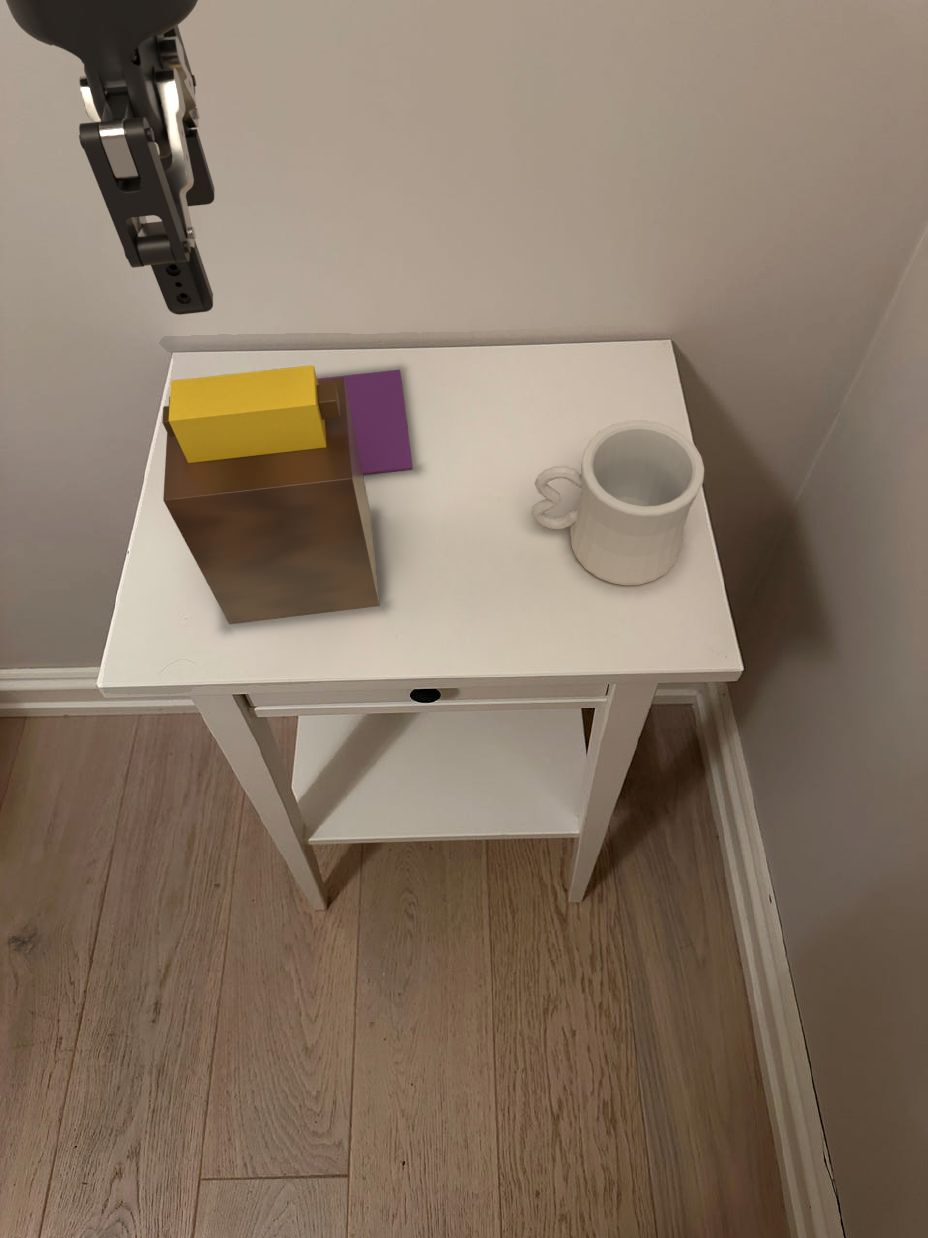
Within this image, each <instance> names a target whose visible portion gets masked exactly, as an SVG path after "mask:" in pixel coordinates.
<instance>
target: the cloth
mask: <svg viewBox="0 0 928 1238" xmlns="http://www.w3.org/2000/svg"><path fill="white" fill-rule="evenodd" d="M341 377H344V379H345V385H346V390H347V395H348V400H349V405H350V410H351V415H352V420H353V426H354V431H355V436H356V441H357V446H358V451H359V456H360V461H361V466H362V472H363V476H367V475H377V474H384V473H386V474H387V473H392V472H401V471H411V470H413V469H414V468H413V462H412V461H413V460H412V454H411V452H412V451H411V445H410V438H409V430H408V422H407V421H408V420H407V415H406V413H407V412H406V406H405V397H404V391H403V382H402V375H401V369H400V368H399V369H389V370H381V371H373V372H365V373H355V374H348V375H347V374H346V375H338V376H328V377H327V376H326V377H320V378H319V377H317V380H323V379H332V378H341Z"/></svg>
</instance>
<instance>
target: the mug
mask: <svg viewBox="0 0 928 1238" xmlns="http://www.w3.org/2000/svg"><path fill="white" fill-rule="evenodd" d="M704 465H705V464H704V461H703V457H702V455H701V453H700V452H699V450H698V448H697V447H696V445H695V444H694V443H693V441H691V440H690V439H689V437H687V436H686V435H685V434H684V433H682V432H680V431H678V430H676V429H675V428H674V427H672V426H669V425H666V424H664V423H661V422H657V421H652V420H645V419H635V420H633V419H632V420H624V421H621V422H618V423H613V424H611V425H609V426H607V427H606V428H603V429H601V430H600V431H598V432H597V433H596V434H595V435H594V436H593V437H592V438H591V439H590V440H589V441H588V443H587V444H586V447H585V449H584V450H583V453H582V459H581V463H580V472H578V471H577V470H576V469H574V468H572V467H570V466H567V465H554V466H552V467H549V468H546V469H544V470H543V471H542V472H540V473H539V474H538V475H537V476H536V478H535V481H534V485H535V488H536V491H537V493H539V494H540V495H541V496H542V497H543V498H545V499H543V500H541V501H538V502H537V503H535V504H534V505H533V506H532V509H531V516H532V518H533V519H534V520H535V522H536V523H538V524H540V526H543V527H544V528H548V529H551V530H564V529H566V528H569V527H570V529H569V530H570V531H569V536H570V544H571V549H572V551H573V553H574V556H575V557H576V560H577V561H578V562H579V563H580V565H581V566H582V567H583V568H584V569H585V570H586V571H588V572H589V573H590V574H592V575H593V576H595V578H598V579H600V580H603V581H604V582H605V581H606V582H608V583H610V584H614V585H615V584H616V585H621V586H639V585H643V584H648V583H650V582H653V581H656V580H657V579H659V578H661V577H662V576H664V575H666V574H667V573H668V571H669V570H670V569H671V568H672V567H673V566H674V565H675V564H676V562H677V560H678V558H679V556H680V553H681V552H682V546H683V540H684V533H685V532H684V531H685V526H686V522H687V519H688V516H689V512H690V509H691V507H692V505H693V504H694V502H695V500H696V499H697V497H698V494H699V492H700V490H701V488H702V486H703V484H704V479H705V478H704V477H705V466H704ZM557 479H559V480H560V479H564V480H567V481H568V482H570V483H571V484H572V485H575V486H577V487H579V488H581V490H580V495H579V501H578V502H577V503H578V504H577V506H576V509H575V510H572V511H569V513H567V514H566V515H565V516H562V517H557V518H556V517H552V516H550V515H548V514H546V512H549V511H551V510H553V509H555V508H556V507H557V506H558V505H559V504H560V503H561V501H562V497H561V494H560V492H559V491H558V490H556V489H555V488H553V487H552V486H551V485H549V484H548V483H549V482H552V481H554V480H557Z"/></svg>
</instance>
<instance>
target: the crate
mask: <svg viewBox="0 0 928 1238" xmlns="http://www.w3.org/2000/svg"><path fill="white" fill-rule="evenodd" d="M317 381H318V385H319V384H328V383H335V384H336V387H337V392H338V397H339V405H340V418H334V419H326V420H325V430H326V448H317V449H308V450H300V451H291V452H282V453H273V454H264V455H256V456H247V457H238V458H229V459H221V460H212V461H203V462H194V463H188V461H187V459H186V457H185V455H184V453H183V451H182V448H181V446H180V444H179V442H178V440H177V438H176V436H174V437H169V436H168V433H167V432H166V443H165V444H166V445H165V463H164V479H163V480H164V482H163V497H162V499H163V500H162V501H163V503H164V504H165V506H166V509H167V510H168V513H169V514H170V516H171V517H172V519H173V521H174V523H175V525H176V527H177V530H178V531H179V532H180V535H181V536H182V538H183V540H184V542H185V544H186V546H187V548H188V551H190V553H191V555H192V557H193V559H194V561H195V563H196V565H197V567H198V569H199V570H200V572H201V573H202V576H203V578H204V579H205V581H206V584H207V586H209V589H210V591H211V592H212V595H213V596H214V598H215V600H216V602H217V604H218V606H219V608H220V609H221V612H222V613H223V616H224V617H225V619H226V621H227V623H228V624H229V625H233V624H241V623H249V622H258V621H266V620H275V619H283V618H290V617H297V616H299V617H300V616H307V615H314V614H323V613H331V612H339V611H340V612H341V611H347V610H355V609H363V608H364V609H365V608H372V607H379V606H380V597H379V595H380V594H379V585H378V575H377V563H376V553H375V543H374V532H373V531H374V530H373V522H372V521H373V520H372V514H371V509H370V503H369V498H368V492H367V487H366V484H365V483H366V482H365V477H364V475H363V472H362V466H361V461H360V456H359V451H358V446H357V441H356V436H355V431H354V426H353V420H352V415H351V410H350V405H349V400H348V395H347V390H346V385H345V379H344V377H341V378H332V379H323V380H317ZM168 406H170V396H168Z"/></svg>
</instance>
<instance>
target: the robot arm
mask: <svg viewBox="0 0 928 1238" xmlns="http://www.w3.org/2000/svg"><path fill="white" fill-rule="evenodd" d="M5 2H6V5H7V7H8V9H9V11H10V14H11V15H12V18H13V19H14V21H15V23H16V24H17V25H18V26H19V27H20V28H21V29H22V30H23V31H24V32H25V33H26V34H27V35H28V36H30V37H32V38H33V39H35V40H37V41H39V42H41V43H43V44H45V45H48V46H54V47H56V48H60V49H62V50H64V51H66V52H69V53H70V54H72V55H73V56H75V57H76V58H78V59H79V60H80V61H81V63H82V64H83V71H84V75H83V76H82V75H81V76H80V77H79V80H78V81H79V90H80V92H81V98H82V101H83V105H84V109H85V113H86V115H87V117H88V118H89V120H91V121H92V122H81V123H79V126H78V127H79V128H78V130H79V132H78V133H79V134H78V139H79V143H80V145H81V148H82V149H83V150H84V153H85V156H86V158H87V161H88V163H89V166H90V168H91V171H92V174H93V175H94V178H95V181H96V183H97V186H98V188H99V190H100V193H101V196H102V199H103V200H104V203H105V206H106V208H107V211H108V213H109V216H110V218H111V221H112V224H113V226H114V228H115V232H116V233H117V236H118V238H119V241H120V244H121V246H122V249H123V253H124V256H125V258H126V259H127V261H128V263H129V265H130V267H131V268H132V269H135V268H143V267H146V266H150V268H151V270H152V272H153V274H154V278H155V280H156V283H157V284H158V287H159V290H160V293H161V295H162V298H163V299H164V303H165V305H166V307H167V310H169V312H170V313H171V314H174V315H179V316H181V315H188V314H189V315H190V314H199V313H207V312H209V311H211V310H212V309H213V307H214V293H213V289H212V287H211V284H210V280H209V278H208V274H207V272H206V269H205V266H204V262H203V260H202V257H201V254H200V251H199V248H198V245H197V242H196V238H197V237H196V236H197V235H196V230H195V228H194V226H193V225H192V220H191V215H190V211H189V207H195V206H197V207H198V206H205V205H210V204H212V203H213V202H214V201H215V186H214V182H213V178H212V175H211V172H210V168H209V165H208V161H207V158H206V155H205V151H204V148H203V143H202V141H201V138H200V135H199V131H198V128H199V120H200V113H199V109H198V107H197V101H196V87H197V79H196V77H195V74H193V73H192V69H191V65H190V61H189V59H188V55H187V53H186V52H187V51H186V49H185V45H184V42H183V38H182V35H181V31H180V27H179V25H180V24H181V23H182V22H184V21H185V20H186V19H187V18H188V17H189V16H190V14H191V13H192V12H193V11H194V9H195V8H196V6H197V3H198V2H199V0H5ZM150 216H155V217H158V218H159V219H160V220H161V221H152V222H147V217H150Z"/></svg>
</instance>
